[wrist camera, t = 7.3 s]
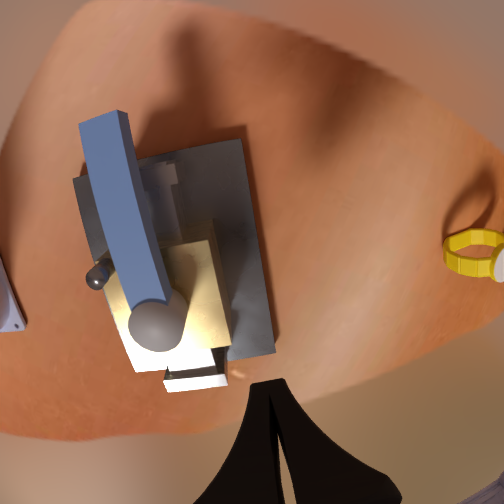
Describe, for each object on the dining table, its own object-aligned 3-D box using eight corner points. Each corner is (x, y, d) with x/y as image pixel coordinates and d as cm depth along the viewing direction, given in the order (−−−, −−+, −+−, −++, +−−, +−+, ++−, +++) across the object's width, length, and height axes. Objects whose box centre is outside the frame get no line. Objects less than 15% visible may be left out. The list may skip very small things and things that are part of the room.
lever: (193, 326, 16) (190, 348, 14) (147, 333, 16) (139, 355, 14) (138, 111, 12) (124, 105, 10) (87, 128, 12) (68, 126, 10)
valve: (138, 364, 23) (116, 429, 16) (78, 177, 18) (17, 193, 12) (274, 345, 23) (290, 412, 17) (240, 138, 19) (247, 132, 12)
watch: (477, 215, 22) (528, 233, 16) (478, 245, 23) (526, 267, 17) (430, 235, 21) (483, 259, 16) (431, 267, 22) (481, 296, 17)
